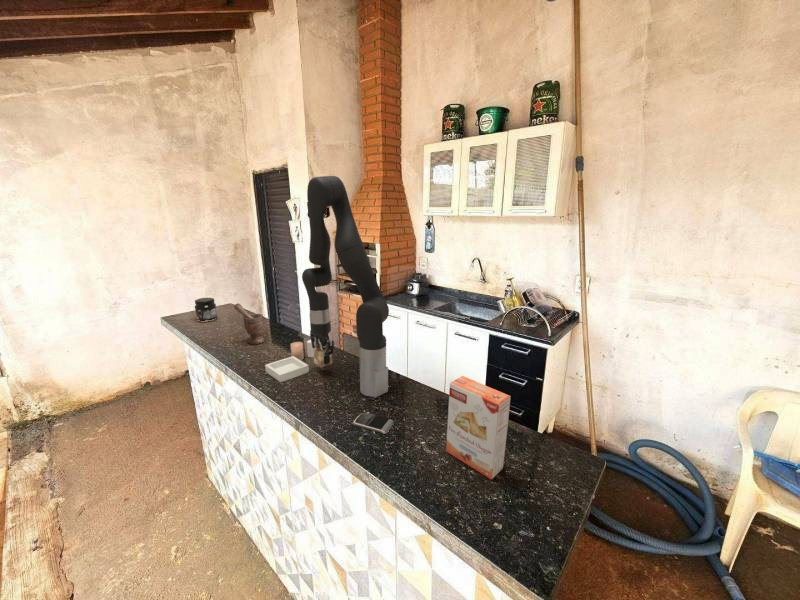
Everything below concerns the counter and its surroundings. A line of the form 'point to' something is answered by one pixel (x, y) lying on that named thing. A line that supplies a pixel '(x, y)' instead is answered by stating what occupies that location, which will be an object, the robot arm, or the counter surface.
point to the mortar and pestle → (252, 325)
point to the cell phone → (373, 422)
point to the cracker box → (477, 425)
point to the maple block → (320, 357)
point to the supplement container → (205, 309)
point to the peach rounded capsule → (297, 350)
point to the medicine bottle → (310, 348)
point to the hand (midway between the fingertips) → (323, 361)
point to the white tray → (287, 369)
